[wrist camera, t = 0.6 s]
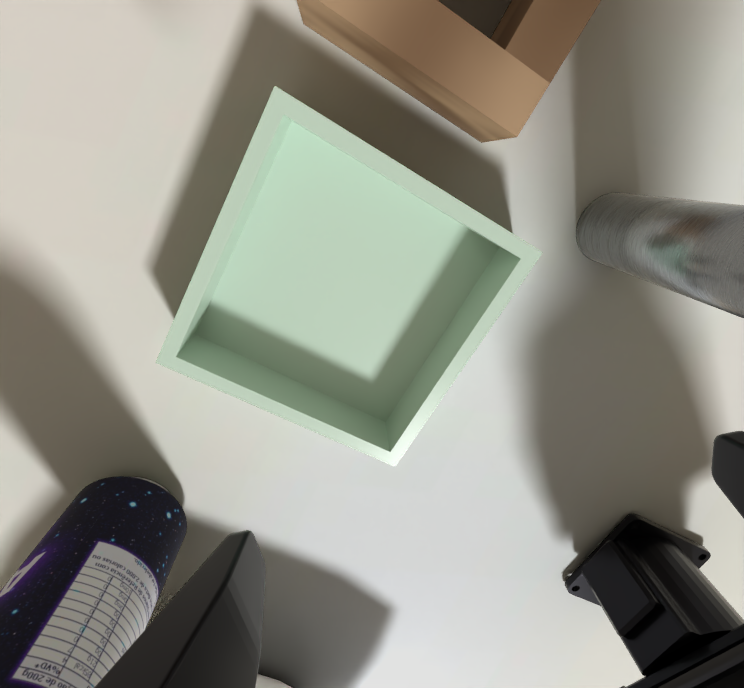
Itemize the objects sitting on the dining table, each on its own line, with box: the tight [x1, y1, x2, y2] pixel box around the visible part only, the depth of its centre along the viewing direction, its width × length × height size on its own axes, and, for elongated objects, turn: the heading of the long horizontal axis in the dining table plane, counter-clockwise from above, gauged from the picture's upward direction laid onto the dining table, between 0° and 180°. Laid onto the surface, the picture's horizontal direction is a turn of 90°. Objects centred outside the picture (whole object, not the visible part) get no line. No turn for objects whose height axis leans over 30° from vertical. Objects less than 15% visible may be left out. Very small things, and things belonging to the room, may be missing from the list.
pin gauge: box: [576, 193, 744, 318], centre depth 15 cm, size 3×3×10 cm
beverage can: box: [0, 476, 187, 688], centre depth 18 cm, size 6×6×12 cm
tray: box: [156, 86, 543, 467], centre depth 19 cm, size 11×11×3 cm
